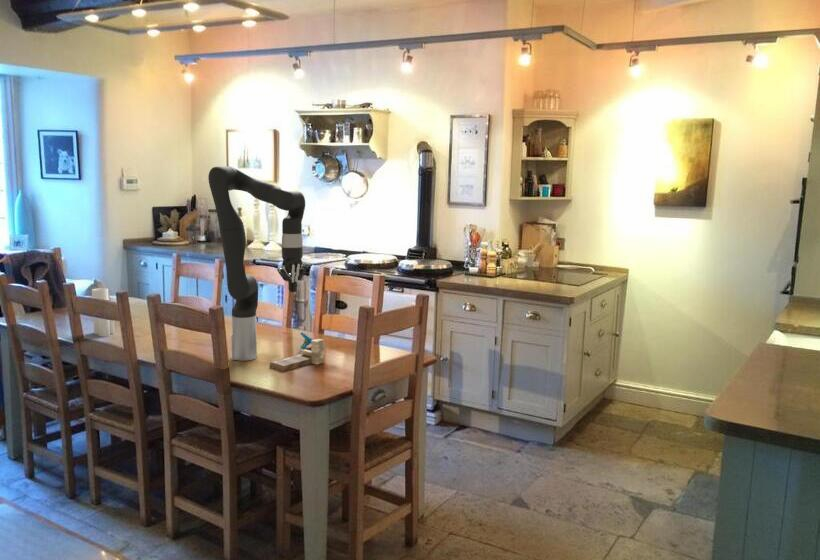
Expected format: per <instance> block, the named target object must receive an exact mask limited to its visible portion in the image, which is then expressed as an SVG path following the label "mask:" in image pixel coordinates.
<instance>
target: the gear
mask: <svg viewBox="0 0 820 560" xmlns="http://www.w3.org/2000/svg"><path fill="white" fill-rule="evenodd" d="M300 335H301V336H302V337H303V338H304V339H303V343H302V344H301V345H300V350H303V349H306V347H308V346H310V345H311V340H313V338H311V337H309V336H308V335H306V333H303V332H300Z"/></svg>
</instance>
